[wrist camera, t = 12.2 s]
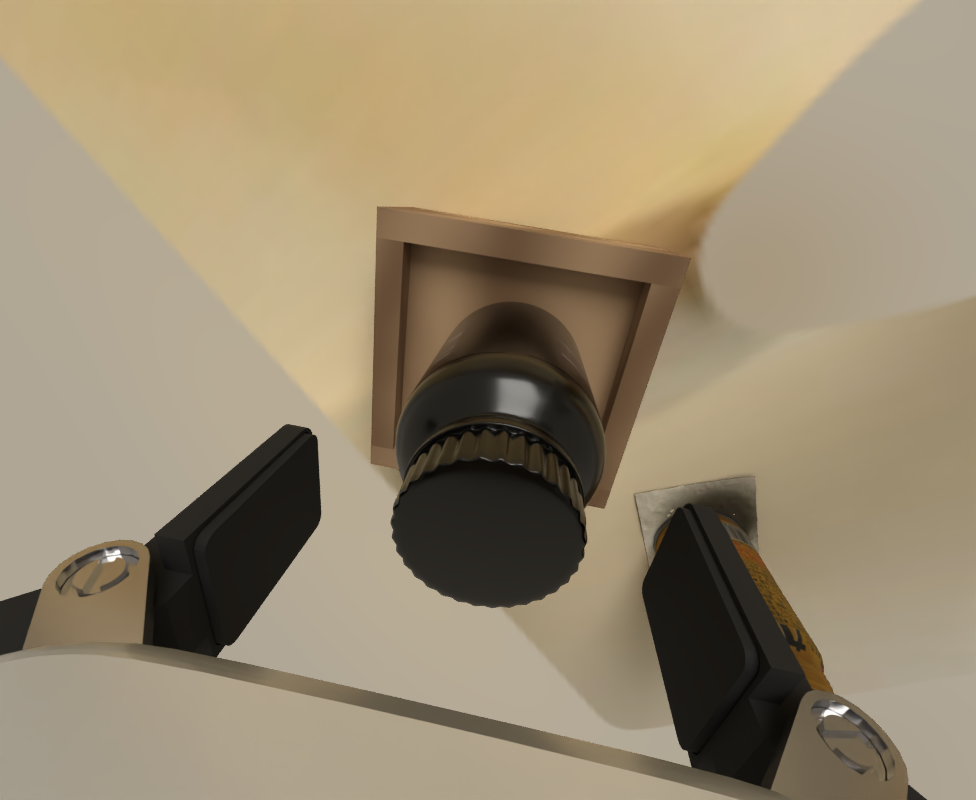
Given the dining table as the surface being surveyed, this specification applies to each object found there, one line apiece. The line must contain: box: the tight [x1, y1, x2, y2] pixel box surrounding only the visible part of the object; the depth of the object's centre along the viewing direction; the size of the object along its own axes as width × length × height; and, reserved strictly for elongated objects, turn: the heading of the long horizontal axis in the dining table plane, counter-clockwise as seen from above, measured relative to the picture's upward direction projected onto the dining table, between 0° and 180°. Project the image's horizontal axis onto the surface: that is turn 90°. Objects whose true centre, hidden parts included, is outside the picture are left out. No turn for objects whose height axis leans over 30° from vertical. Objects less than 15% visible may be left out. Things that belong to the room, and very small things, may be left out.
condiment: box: [635, 476, 834, 694], centre depth 23 cm, size 7×8×12 cm
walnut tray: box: [371, 207, 691, 509], centre depth 22 cm, size 13×13×5 cm
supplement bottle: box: [391, 302, 606, 608], centre depth 15 cm, size 7×7×12 cm
